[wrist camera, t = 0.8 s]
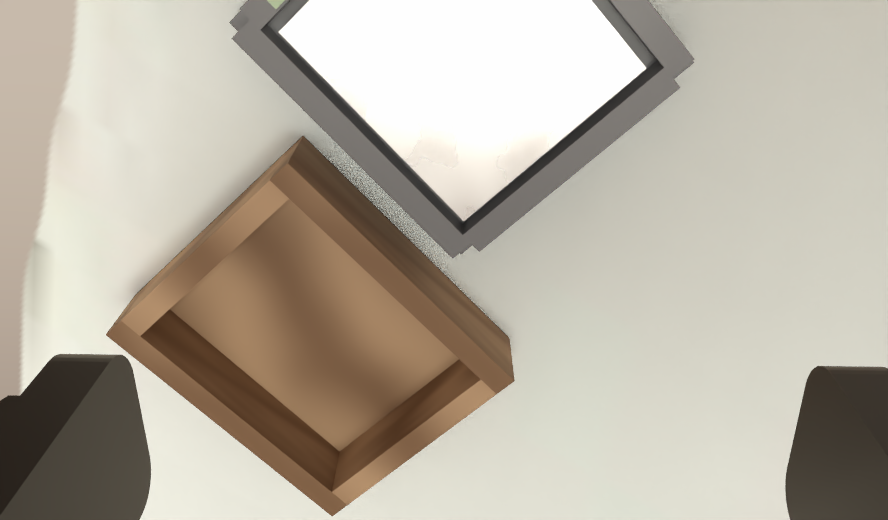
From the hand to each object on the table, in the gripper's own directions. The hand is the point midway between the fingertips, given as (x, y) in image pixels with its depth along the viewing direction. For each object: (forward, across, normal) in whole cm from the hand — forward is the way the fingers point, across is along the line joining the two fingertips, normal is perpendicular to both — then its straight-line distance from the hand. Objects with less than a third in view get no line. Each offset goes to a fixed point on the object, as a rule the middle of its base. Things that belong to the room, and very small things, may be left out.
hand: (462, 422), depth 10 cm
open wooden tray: (+25, +6, +13) cm, 29 cm away
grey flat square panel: (+23, 0, 0) cm, 23 cm away
